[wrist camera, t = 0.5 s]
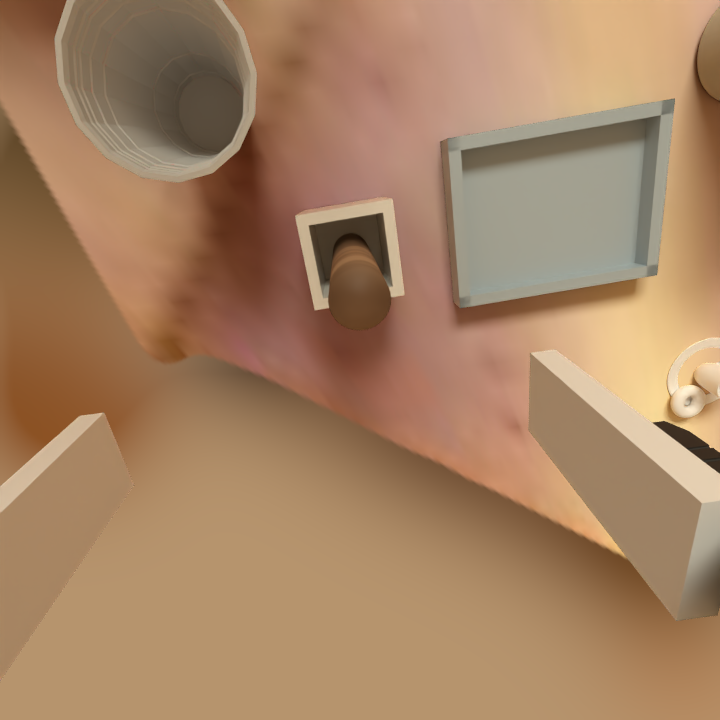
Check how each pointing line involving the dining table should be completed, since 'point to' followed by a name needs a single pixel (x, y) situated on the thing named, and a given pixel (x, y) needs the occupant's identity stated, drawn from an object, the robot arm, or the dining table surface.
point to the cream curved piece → (707, 375)
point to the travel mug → (710, 56)
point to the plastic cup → (157, 83)
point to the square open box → (354, 217)
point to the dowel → (357, 285)
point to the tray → (556, 203)
